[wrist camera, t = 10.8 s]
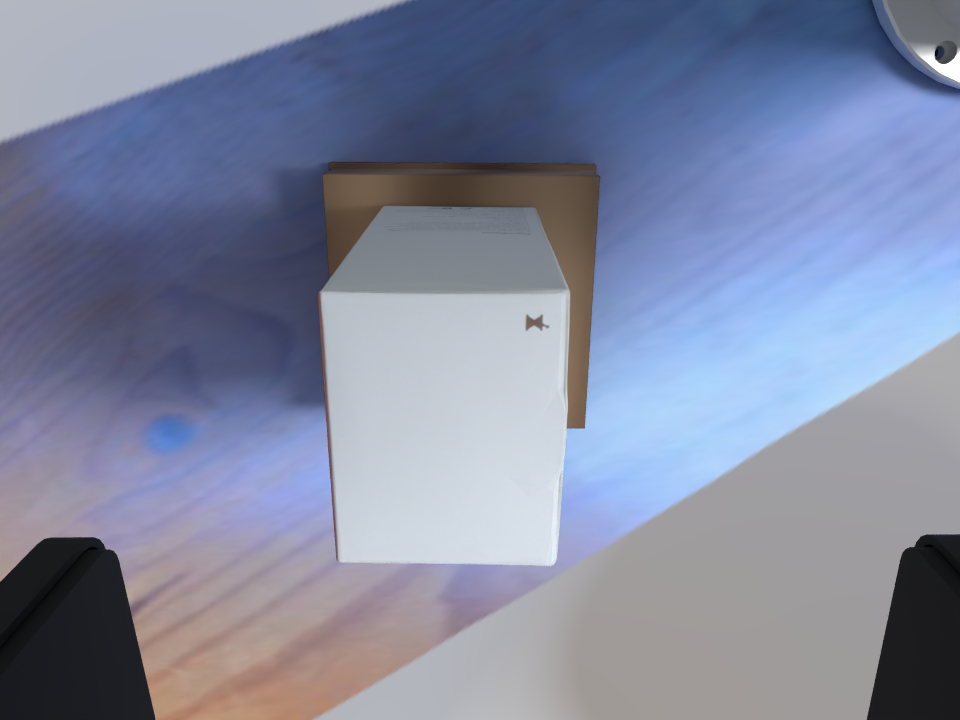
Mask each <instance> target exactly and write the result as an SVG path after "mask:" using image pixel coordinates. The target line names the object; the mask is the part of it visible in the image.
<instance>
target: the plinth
mask: <svg viewBox="0 0 960 720" xmlns="http://www.w3.org/2000/svg"><path fill="white" fill-rule="evenodd" d="M596 166H597V165H595V164H518V163H386V162H331V163H329V171H328V172H326V173H325V174H323V188H324V204H325V220H326V236H327V252H328V268H329V279H330V277H331V276H332V275H333V273H334V272H335V271H336V269H337V268H338V267H339V265H340V264H341V263H342V261H343V260H344V258H345V257H346V256H347V254H348V253H349V252H350V250H351V249H352V247H353V246H354V245H355V243H356V242H357V241H358V240H359V238H360V237H361V235H362V234H363V233H364V231H365V230H366V229H367V227H368V226H369V225H370V223H371V222H372V221H373V219H374V218H375V217H376V215H377V214H378V212H379V211H380V210H381V208H382V207H384V206H430V207H518V208H523V207H534V208H536V210H537V213H538V215H539V218H540V221H541V224H542V227H543V229H544V231H545V234H546V236H547V238H548V241H549V243H550V245H551V247H552V250H553V252H554V254H555V257H556V259H557V261H558V264H559V266H560V269H561V271H562V274H563V276H564V279H565V281H566V283H567V286H568V288H569V291H570V321H569V348H568V372H567V398H568V413H567V428H585V415H586V399H587V382H588V366H589V349H590V332H591V316H592V299H593V283H594V266H595V250H596V233H597V217H598V200H599V183H600V176H598V175H597V174H596Z"/></svg>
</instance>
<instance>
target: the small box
mask: <svg viewBox="0 0 960 720" xmlns="http://www.w3.org/2000/svg"><path fill="white" fill-rule="evenodd" d="M318 307H319V322H320V337H321V353H322V367H323V381H324V395H325V409H326V423H327V437H328V452H329V466H330V479H331V492H332V505H333V520H334V533H335V546H336V560H337V561H339V562H343V563H424V564H483V565H520V566H546V567H550V566H553V565H554V563H555V562H556V559H557V549H558V538H559V525H560V510H561V494H562V482H563V468H564V455H565V446H566V434H567V413H568V398H567V372H568V348H569V321H570V291H569V288H568V286H567V283H566V281H565V279H564V276H563V274H562V271H561V269H560V266H559V264H558V261H557V259H556V257H555V254H554V252H553V250H552V247H551V245H550V243H549V241H548V238H547V236H546V234H545V231H544V229H543V227H542V224H541V221H540V218H539V215H538V213H537V210H536V208H534V207H523V208H518V207H430V206H384V207H382V208H381V210H380V211H379V212H378V214H377V215H376V217H375V218H374V219H373V221H372V222H371V223H370V225H369V226H368V227H367V229H366V230H365V231H364V233H363V234H362V235H361V237H360V238H359V240H358V241H357V242H356V243H355V245H354V246H353V247H352V249H351V250H350V252H349V253H348V254H347V256H346V257H345V258H344V260H343V261H342V263H341V264H340V265H339V267H338V268H337V269H336V271H335V272H334V273H333V275H332V276H331V277H330V279H329V280H328V281H327V283H326V284H325V285H324V287H323V288H322V289H321V290H320V292H319V293H318Z"/></svg>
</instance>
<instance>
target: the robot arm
mask: <svg viewBox="0 0 960 720" xmlns="http://www.w3.org/2000/svg"><path fill="white" fill-rule="evenodd" d="M872 2H873V5H874V8H875V11H876V13H877V16H878V19H879V22H880V24H881V26H882V27H883V29H884V31H885V32H886V34H887V35H888V37H889V39H890V40H891V42H892V44H893V45H894V47H895V48H896V49H897V50H898V51H899V52H900V53H901V54H902V55H903V56H904V57H905V58H906V59H907V60H908V61H909V62H910V63H911V64H912V65H913V66H914V67H915V68H916V69H918V70H919V71H921V72H923V73H924V74H926V75H927V76H929V77H931V78H932V79H934V80H935V81H937V82H940V83H943V84H945V85H948V86H951V87H954V88H957V89H960V0H872ZM936 48H937V49H938V55H937V57H936V58H935V54H934V52H935V50H936ZM0 720H155V715H154V711H153V706H152V702H151V698H150V693H149V689H148V685H147V680H146V676H145V672H144V667H143V663H142V659H141V654H140V650H139V646H138V641H137V637H136V633H135V628H134V624H133V620H132V615H131V611H130V607H129V602H128V598H127V594H126V589H125V585H124V581H123V576H122V572H121V568H120V563H119V560H118V557H117V555H116V553H115V552H114V551H112V550H106V549H105V546H104V544H103V543H102V542H101V541H100V540H99V539H97V538H94V537H74V538H47V539H44V540H42V541H41V542H40V543H38V544H37V545H36V546H35V547H34V548H33V549H32V550H31V551H30V552H29V553H28V554H27V555H26V556H25V557H24V558H23V559H22V560H21V561H20V562H19V563H18V564H17V566H16V567H15V568H14V569H13V570H12V571H11V572H10V573H9V574H8V575H7V576H6V577H5V578H4V579H3V580H2V581H1V582H0ZM867 720H960V535H924V536H922V537H920V539H919V540H918V541H917V542H916V545H915V547H910V548H907V549H905V551H904V552H903V554H902V556H901V560H900V564H899V569H898V573H897V578H896V583H895V588H894V592H893V597H892V602H891V607H890V612H889V617H888V621H887V626H886V631H885V635H884V640H883V645H882V650H881V655H880V659H879V664H878V669H877V674H876V679H875V683H874V688H873V693H872V697H871V702H870V707H869V712H868V716H867Z"/></svg>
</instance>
